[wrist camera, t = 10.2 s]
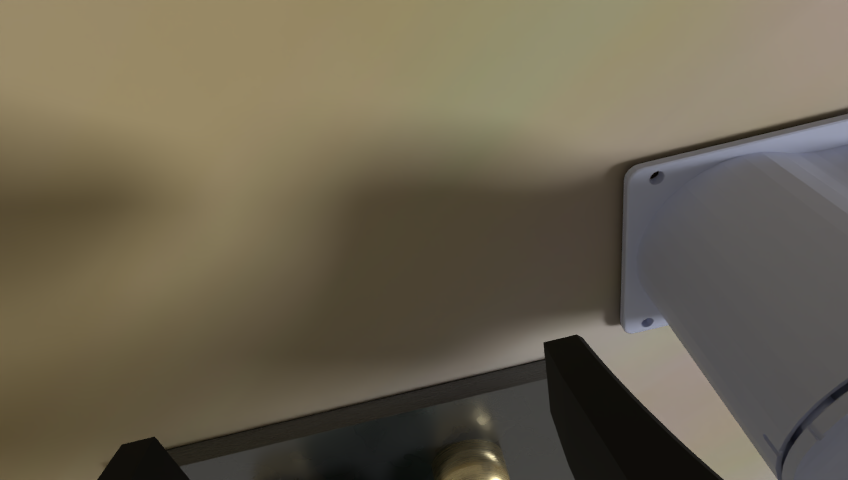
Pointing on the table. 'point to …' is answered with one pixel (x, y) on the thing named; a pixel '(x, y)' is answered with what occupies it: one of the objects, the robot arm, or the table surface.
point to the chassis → (403, 437)
